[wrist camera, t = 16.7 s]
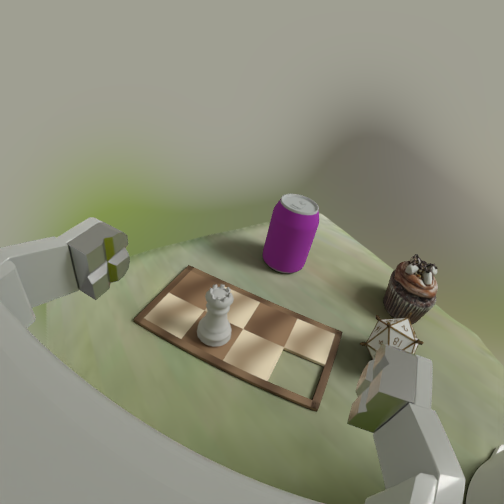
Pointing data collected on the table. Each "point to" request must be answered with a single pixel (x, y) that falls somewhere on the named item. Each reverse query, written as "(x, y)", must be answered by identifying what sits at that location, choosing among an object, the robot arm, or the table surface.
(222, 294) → the rook chess piece
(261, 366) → the board
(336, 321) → the table surface
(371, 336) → the game die
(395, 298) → the cupcake
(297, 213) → the beverage can
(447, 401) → the table surface
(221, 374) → the table surface
